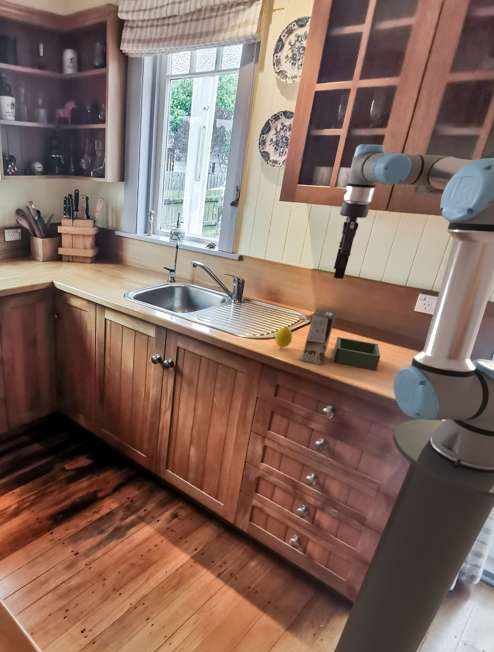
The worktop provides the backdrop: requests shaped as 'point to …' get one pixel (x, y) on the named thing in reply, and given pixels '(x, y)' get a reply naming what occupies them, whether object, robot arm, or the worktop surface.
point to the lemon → (283, 337)
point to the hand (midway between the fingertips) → (338, 273)
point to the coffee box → (318, 336)
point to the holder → (356, 353)
